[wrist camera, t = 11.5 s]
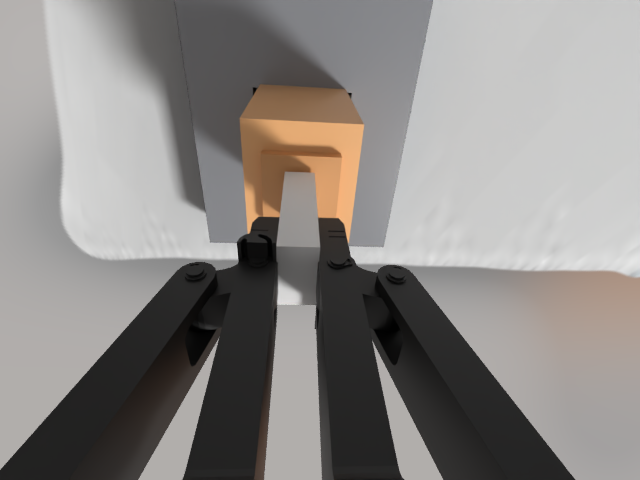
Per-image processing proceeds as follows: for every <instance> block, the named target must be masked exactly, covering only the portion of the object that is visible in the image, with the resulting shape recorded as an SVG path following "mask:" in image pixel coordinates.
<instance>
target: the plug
mask: <svg viewBox="0 0 640 480" xmlns="http://www.w3.org/2000/svg"><path fill="white" fill-rule="evenodd" d="M363 130H364V123H363V121H362V119H361V117H360V116H359V114H358V112H357V110H356V108H355V106H354V104H353V102H352V100H351V98H350V97H349V95H348V93H347V91H346V89H334V88H316V87H299V86H281V85H264V84H260V85H259V87H258V89H257V90H256V92H255V94H254V95H253V97H252V98H251V100H250V102H249V103H248V105H247V107H246V108H245V110H244V112H243V113H242V115H241V117H240V132H241V146H242V160H243V174H244V188H245V202H246V216H247V230H248V234H249V233H250V231H251V226H252V222H253V221H254V220H255V219H256V218H258V217H280V209H281V201H282V192H283V183H284V174H285V172H309V173H315V185H316V198H317V211H318V217H319V218H339V219H340V220H341V221H342V222H343V223H344V226H345V231H346V236H347V241H348V243H349V238H350V230H351V223H352V215H353V207H354V199H355V192H356V184H357V176H358V169H359V161H360V153H361V146H362V138H363Z"/></svg>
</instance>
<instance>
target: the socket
mask: <svg viewBox="0 0 640 480" xmlns="http://www.w3.org/2000/svg"><path fill="white" fill-rule="evenodd" d="M174 1H175V8H176V15H177V21H178V28H179V35H180V42H181V48H182V55H183V62H184V69H185V75H186V82H187V89H188V96H189V102H190V109H191V116H192V123H193V129H194V136H195V143H196V150H197V156H198V163H199V170H200V177H201V183H202V190H203V197H204V204H205V211H206V217H207V224H208V231H209V238H210V242H214V243H237V241H238V240H239V238H240V237H242V236H243V235H245V234H248V230H247V216H246V202H245V188H244V174H243V160H242V146H241V132H240V117H241V115H242V113H243V112H244V110H245V108H246V107H247V105H248V103H249V102H250V100H251V98H252V97H253V95H254V94H255V92H256V90H257V89H258V87H259V85H260V84H264V85H281V86H299V87H316V88H334V89H346V91H347V93H348V95H349V97H350V98H351V100H352V102H353V104H354V106H355V108H356V110H357V112H358V114H359V116H360V117H361V119H362V121H363V123H364V130H363V138H362V146H361V153H360V161H359V169H358V176H357V184H356V192H355V199H354V207H353V215H352V223H351V230H350V238H349V243H348V246H363V247H384V242H385V237H386V232H387V227H388V222H389V217H390V212H391V207H392V202H393V198H394V193H395V188H396V183H397V178H398V173H399V168H400V163H401V158H402V153H403V148H404V143H405V138H406V133H407V128H408V123H409V118H410V113H411V108H412V103H413V98H414V93H415V88H416V83H417V78H418V73H419V68H420V63H421V58H422V53H423V48H424V43H425V38H426V33H427V28H428V23H429V18H430V13H431V9H432V4H433V0H174Z"/></svg>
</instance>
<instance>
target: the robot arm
mask: <svg viewBox="0 0 640 480" xmlns="http://www.w3.org/2000/svg"><path fill="white" fill-rule="evenodd" d="M237 248H238V259H239V262H238V264H237V265H235V266H233V267H231V268H227V269H223V270H218V271H216V270H215V268H214V267H213V266H212V265H211V264H208V263H205V262H195V263H189V264H187V265H185V266H182V267H181V268H180V269H179V270H177V272H176V273H175V274H174V275H173V276H172V277H171V278H170V279H169V281H168V282H167V283H166V284H165V285H164V286H163V287H162V288H161V290H160V291H159V292H158V293H157V294H156V295H155V296H154V297H153V299H152V300H151V301H150V302H149V303H148V304H147V305H146V306H145V308H144V309H143V310H142V311H141V312H140V313H139V314H138V315H137V317H136V318H135V319H134V320H133V321H132V322H131V323H130V324H129V326H128V327H127V328H126V329H125V330H124V331H123V332H122V333H121V335H120V336H119V337H118V338H117V339H116V340H115V341H114V342H113V344H112V345H111V346H110V347H109V348H108V349H107V350H106V352H105V353H104V354H103V355H102V356H101V357H100V358H99V359H98V360H97V362H96V363H95V364H94V365H93V366H92V367H91V368H90V370H89V371H88V372H87V373H86V374H85V375H84V376H83V377H82V379H81V380H80V381H79V382H78V383H77V384H76V386H75V387H74V388H73V389H72V390H71V391H70V392H69V393H68V394H67V395H66V397H65V398H64V399H63V400H62V401H61V402H60V403H59V404H58V406H57V407H56V408H55V409H54V410H53V411H52V412H51V414H50V415H49V416H48V417H47V418H46V419H45V420H44V421H43V423H42V424H41V425H40V426H39V427H38V428H37V429H36V430H35V431H34V433H33V434H32V435H31V436H30V437H29V438H28V439H27V441H26V442H25V443H24V444H23V445H22V446H21V447H20V448H19V449H18V451H17V452H16V453H15V454H14V455H13V456H12V458H10V460H9V461H8V462H7V463H6V464H5V465H4V466H3V468H2V469H1V470H0V480H138V479H139V477H140V475H141V473H142V472H143V470H144V468H145V466H146V465H147V463H148V461H149V460H150V458H151V456H152V454H153V453H154V451H155V449H156V447H157V446H158V444H159V442H160V440H161V438H162V437H163V435H164V433H165V431H166V430H167V428H168V426H169V424H170V423H171V421H172V419H173V417H174V416H175V414H176V412H177V410H178V409H179V407H180V405H181V403H182V401H183V400H184V398H185V396H186V394H187V393H188V391H189V389H190V387H191V386H192V384H193V382H194V380H195V379H196V377H197V375H198V373H199V372H200V370H201V368H202V366H203V365H204V363H205V361H206V359H207V358H208V356H209V354H210V352H211V351H212V349H213V347H214V345H215V344H216V342H217V340H218V338H219V341H218V345H217V349H216V353H215V357H214V361H213V365H212V369H211V373H210V377H209V381H208V385H207V388H206V392H205V396H204V400H203V404H202V408H201V412H200V416H199V420H198V424H197V428H196V432H195V436H194V440H193V444H192V448H191V452H190V455H189V459H188V464H187V467H186V471H185V474H184V478H183V480H264V471H265V459H266V447H267V434H268V422H269V410H270V409H269V408H270V397H271V385H272V372H273V359H274V347H275V335H276V323H277V304H291V305H295V304H296V305H298V304H299V305H316V318H315V329H316V334H317V360H318V386H319V411H320V437H321V462H322V480H404V479H403V478H402V476H401V474H400V471H399V467H398V464H397V458H396V453H395V449H394V444H393V439H392V435H391V429H390V425H389V420H388V415H387V410H386V405H385V401H384V396H383V391H382V387H381V381H380V377H379V372H378V367H377V362H376V357H375V353H374V348H373V343H372V341H373V342H374V344H375V346H376V348H377V350H378V352H379V354H380V356H381V358H382V360H383V362H384V364H385V366H386V368H387V370H388V372H389V374H390V376H391V378H392V380H393V382H394V384H395V386H396V388H397V390H398V392H399V393H400V395H401V397H402V399H403V401H404V403H405V405H406V407H407V409H408V411H409V413H410V415H411V417H412V419H413V421H414V423H415V425H416V427H417V429H418V431H419V433H420V435H421V437H422V439H423V441H424V442H425V445H426V446H427V448H428V450H429V452H430V454H431V456H432V458H433V460H434V462H435V464H436V466H437V468H438V470H439V472H440V474H441V476H442V478H443V480H575V479H574V478H573V476H572V475H571V474H570V473H569V472H568V470H567V469H566V467H565V466H564V465H563V464H562V462H561V461H560V460H559V459H558V457H557V456H556V455H555V453H554V452H553V451H552V450H551V448H550V447H549V446H548V445H547V443H546V442H545V441H544V440H543V438H542V437H541V436H540V434H539V433H538V432H537V431H536V429H535V428H534V427H533V426H532V424H531V423H530V422H529V421H528V419H527V418H526V417H525V415H524V414H523V413H522V412H521V410H520V409H519V408H518V407H517V405H516V404H515V403H514V401H513V400H512V399H511V398H510V396H509V395H508V394H507V393H506V391H505V390H504V389H503V388H502V387H501V385H500V384H499V382H498V381H497V380H496V379H495V378H494V376H493V375H492V374H491V372H490V371H489V370H488V369H487V367H486V366H485V365H484V364H483V362H482V361H481V360H480V358H479V357H478V356H477V355H476V353H475V352H474V351H473V349H472V348H471V347H470V346H469V344H468V343H467V342H466V341H465V339H464V338H463V337H462V335H461V334H460V333H459V332H458V331H457V329H456V328H455V327H454V325H453V324H452V323H451V322H450V320H449V319H448V318H447V317H446V315H445V314H444V313H443V311H442V310H441V309H440V308H439V306H438V305H437V304H436V303H435V301H434V300H433V299H432V297H431V296H430V295H429V294H428V292H427V291H426V290H425V289H424V287H423V286H422V285H421V283H420V282H419V281H418V280H417V278H416V277H415V276H414V275H413V274H412V273H411V272H410V271H409V270H407V269H406V268H404V267H401V266H397V265H386V266H383V267H381V268H380V269H379V270H378V273H375V272H371V271H367V270H364V269H362V268H360V267H358V266H357V265H356V263H355V261H354V259H353V258H351V256H350V251H349V246H348V241H347V236H346V231H345V226H344V223H343V222H342V221H341V220H340V219H339V218H319V217H318V211H317V198H316V185H315V173H309V172H285V174H284V183H283V192H282V201H281V209H280V217H258V218H256V219H255V220H254V221H253V222H252V226H251V231H250V233H249V234H245V235H243V236H242V237H240V238H239V240H238V241H237Z"/></svg>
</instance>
